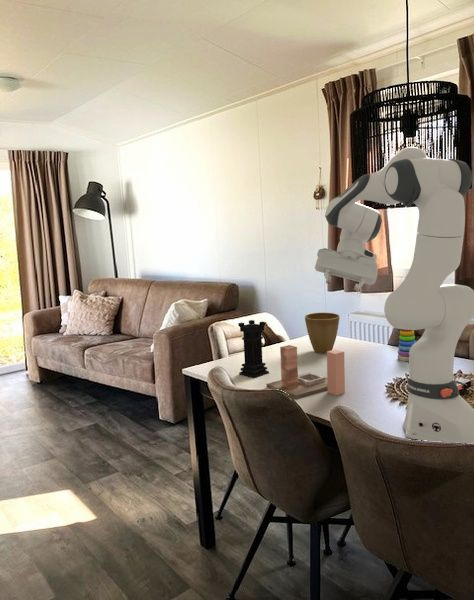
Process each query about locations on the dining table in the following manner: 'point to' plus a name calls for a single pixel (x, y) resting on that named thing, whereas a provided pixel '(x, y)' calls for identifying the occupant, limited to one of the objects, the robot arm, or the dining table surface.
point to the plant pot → (322, 330)
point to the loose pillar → (335, 372)
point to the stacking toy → (405, 344)
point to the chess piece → (252, 349)
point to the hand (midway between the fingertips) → (342, 286)
